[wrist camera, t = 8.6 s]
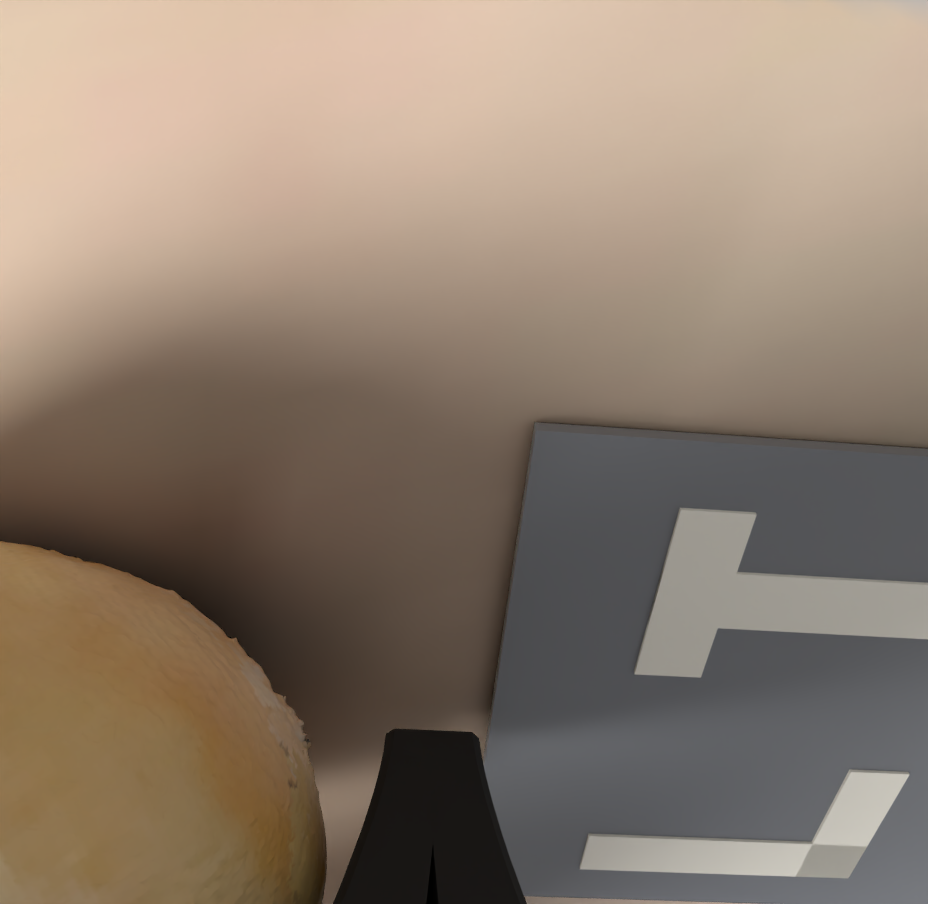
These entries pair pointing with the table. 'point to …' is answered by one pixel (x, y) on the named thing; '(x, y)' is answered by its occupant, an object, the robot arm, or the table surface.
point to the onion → (142, 750)
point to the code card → (715, 670)
